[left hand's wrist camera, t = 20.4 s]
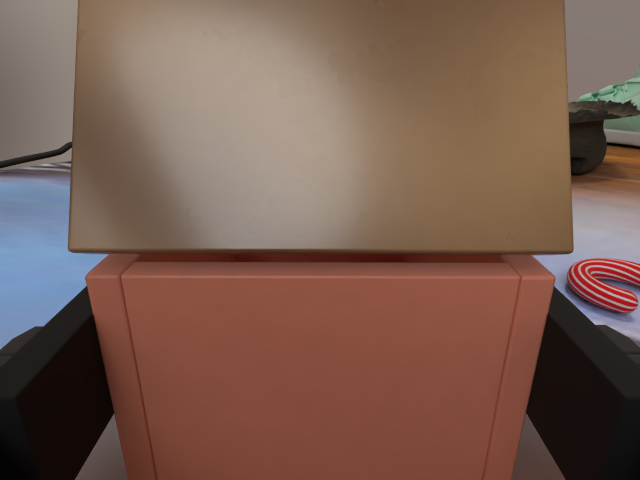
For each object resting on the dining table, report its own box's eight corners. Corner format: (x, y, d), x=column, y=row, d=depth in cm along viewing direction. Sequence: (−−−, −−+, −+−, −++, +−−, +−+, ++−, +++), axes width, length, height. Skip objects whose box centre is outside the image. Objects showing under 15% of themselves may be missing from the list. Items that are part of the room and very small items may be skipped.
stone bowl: (673, 176, 55) (692, 98, 52) (483, 199, 53) (489, 119, 49) (550, 142, 78) (557, 86, 74) (413, 156, 75) (413, 100, 72)
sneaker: (535, 129, 99) (553, 28, 91) (742, 149, 75) (788, 15, 68) (506, 135, 90) (524, 24, 83) (729, 160, 66) (781, 7, 59)
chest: (230, 325, 24) (215, 157, 21) (409, 326, 24) (424, 157, 21) (145, 570, 12) (82, 275, 9) (492, 570, 13) (558, 276, 9)
